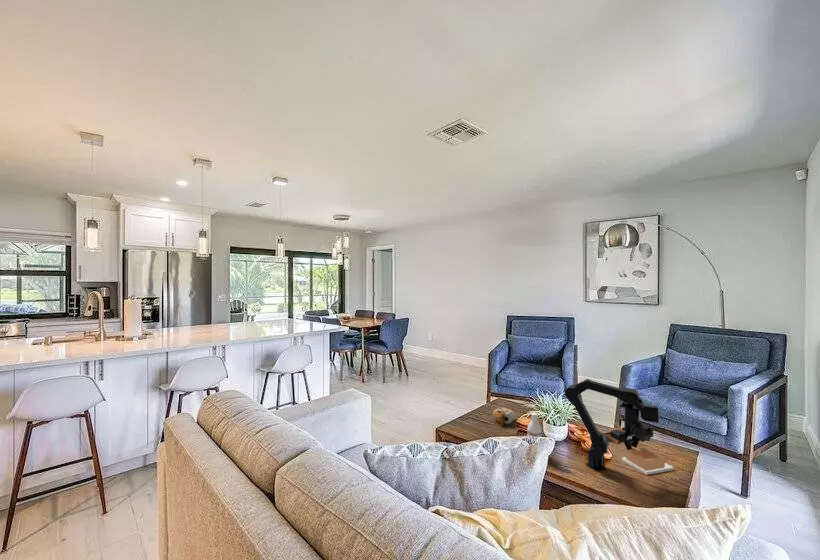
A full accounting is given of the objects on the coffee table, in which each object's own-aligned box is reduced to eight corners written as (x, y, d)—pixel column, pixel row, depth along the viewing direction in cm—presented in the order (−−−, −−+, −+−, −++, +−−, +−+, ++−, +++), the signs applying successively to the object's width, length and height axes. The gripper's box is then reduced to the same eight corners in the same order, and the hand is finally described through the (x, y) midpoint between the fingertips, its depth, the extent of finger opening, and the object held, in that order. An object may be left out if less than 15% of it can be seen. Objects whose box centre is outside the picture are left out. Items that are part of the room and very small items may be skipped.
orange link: (646, 470, 156) (646, 461, 155) (618, 454, 169) (619, 446, 169) (664, 467, 158) (664, 458, 158) (636, 452, 172) (636, 443, 172)
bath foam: (524, 451, 192) (524, 412, 192) (534, 448, 195) (534, 410, 195) (533, 457, 186) (534, 417, 186) (544, 454, 189) (544, 415, 188)
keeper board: (646, 474, 170) (646, 463, 170) (621, 460, 183) (621, 449, 183) (673, 469, 174) (673, 458, 174) (647, 455, 188) (647, 445, 188)
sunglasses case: (617, 444, 200) (611, 431, 202) (606, 447, 205) (600, 434, 207) (633, 436, 210) (627, 424, 213) (622, 439, 215) (616, 427, 218)
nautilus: (505, 432, 217) (482, 427, 226) (520, 419, 233) (498, 414, 243) (505, 418, 216) (481, 414, 226) (519, 406, 233) (497, 402, 242)
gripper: (630, 427, 158) (629, 464, 158) (664, 422, 163) (663, 458, 163) (609, 417, 169) (609, 452, 169) (642, 413, 174) (641, 446, 174)
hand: (631, 452), depth 168 cm, fingers closed on orange link, 2 cm apart
